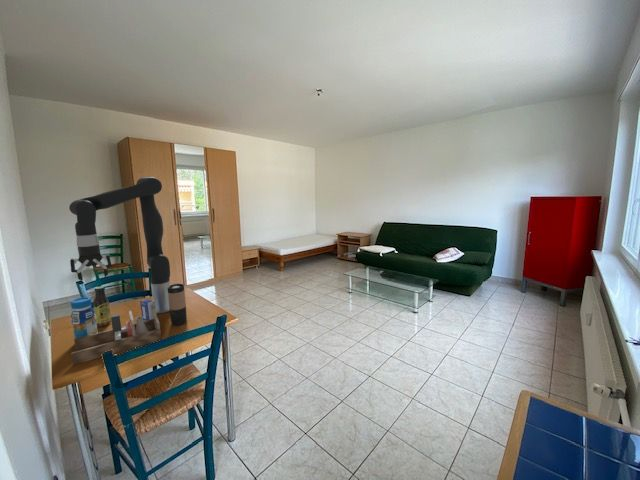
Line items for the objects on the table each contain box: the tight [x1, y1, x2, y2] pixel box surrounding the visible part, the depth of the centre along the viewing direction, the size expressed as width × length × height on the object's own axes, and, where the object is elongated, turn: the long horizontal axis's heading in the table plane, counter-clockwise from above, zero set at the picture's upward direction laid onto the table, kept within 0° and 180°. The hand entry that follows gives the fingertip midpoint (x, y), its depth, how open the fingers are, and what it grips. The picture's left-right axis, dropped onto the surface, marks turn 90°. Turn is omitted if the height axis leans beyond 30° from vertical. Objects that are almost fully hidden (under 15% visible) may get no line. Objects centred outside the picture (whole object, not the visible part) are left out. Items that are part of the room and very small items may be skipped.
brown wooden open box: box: [70, 310, 163, 366], centre depth 119 cm, size 30×14×12 cm, turn 128°
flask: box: [135, 315, 150, 335], centre depth 125 cm, size 7×7×10 cm
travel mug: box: [167, 283, 188, 327], centre depth 139 cm, size 8×8×20 cm
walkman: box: [139, 298, 158, 321], centre depth 140 cm, size 8×3×12 cm, turn 67°
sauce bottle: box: [92, 285, 112, 327], centre depth 137 cm, size 6×6×20 cm
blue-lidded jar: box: [70, 296, 99, 339], centre depth 121 cm, size 8×8×20 cm
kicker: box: [110, 313, 133, 341], centre depth 120 cm, size 7×14×14 cm, turn 38°
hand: (93, 278), depth 124 cm, fingers open, 8 cm apart
